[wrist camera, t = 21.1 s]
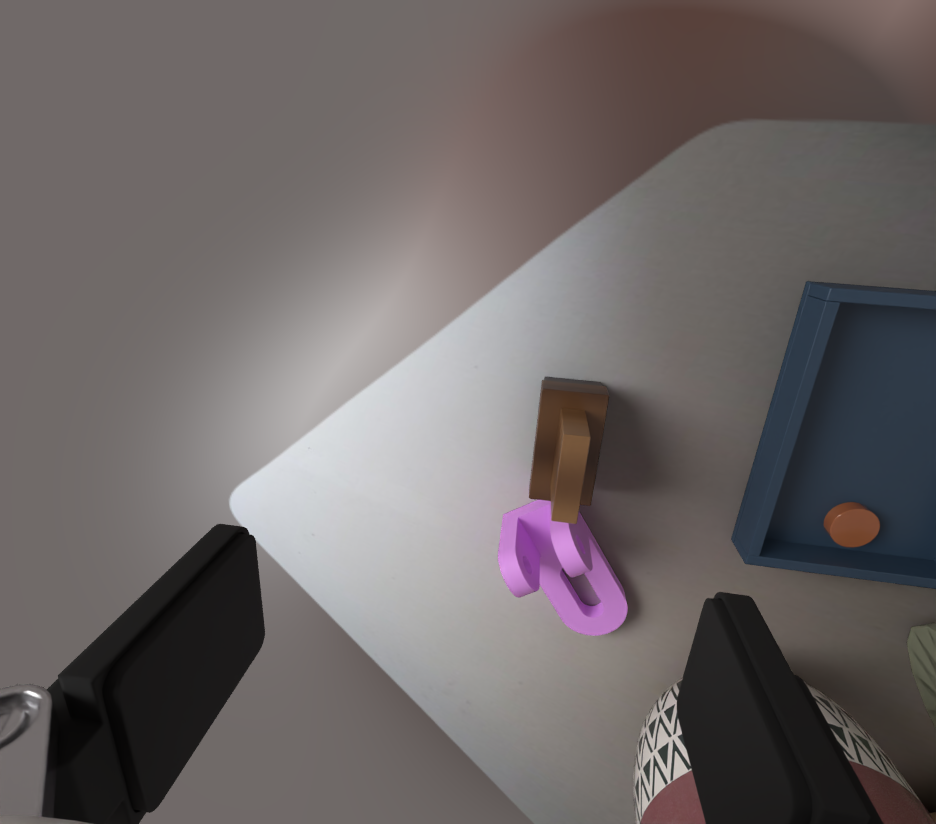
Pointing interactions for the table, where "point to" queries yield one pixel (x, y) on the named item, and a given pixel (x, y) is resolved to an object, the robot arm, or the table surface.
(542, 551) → the bracket
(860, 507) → the orange disc
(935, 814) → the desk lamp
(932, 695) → the spool
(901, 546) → the tray
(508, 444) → the table surface
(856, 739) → the planter
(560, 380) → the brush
